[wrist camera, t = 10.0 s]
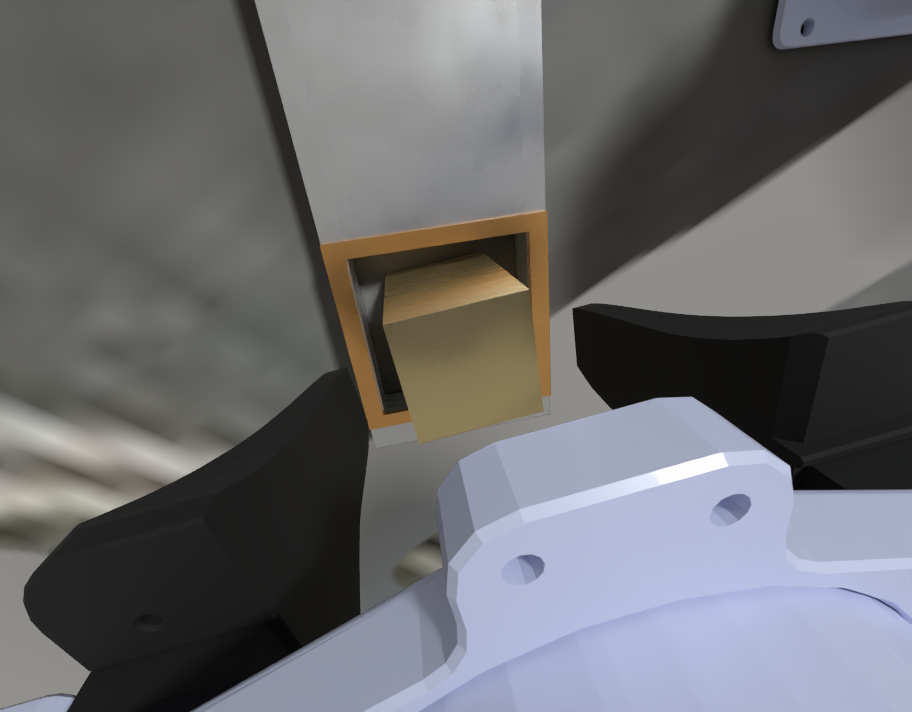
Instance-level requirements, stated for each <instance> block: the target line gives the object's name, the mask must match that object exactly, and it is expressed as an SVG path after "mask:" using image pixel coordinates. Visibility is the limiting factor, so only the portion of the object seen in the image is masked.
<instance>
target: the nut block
mask: <svg viewBox="0 0 912 712" xmlns="http://www.w3.org/2000/svg"><path fill="white" fill-rule="evenodd" d="M383 328H384V332H385V335H386V338H387V341H388V345H389V348H390V351H391V354H392V358H393V361H394V364H395V367H396V371H397V374H398V377H399V380H400V384H401V387H402V390H403V393H404V397H405V400H406V403H407V406H408V410H409V413H410V416H411V419H412V423H413V426H414V429H415V432H416V436H417V439H418V442H419V444H421V443H425V442H429V441H433V440H437V439H440V438H444V437H448V436H452V435H456V434H460V433H463V432H467V431H471V430H475V429H479V428H482V427H486V426H490V425H494V424H498V423H502V422H505V421H509V420H513V419H517V418H521V417H525V416H528V415H532V414H536V413H540V412H544V409H543V401H542V393H541V384H540V376H539V367H538V359H537V350H536V342H535V334H534V325H533V317H532V308H531V300H530V291H529V289H528V288H527V287H526V286H524V285H523V284H522V283H521V282H519V281H518V280H517V279H516V278H514V277H513V276H512V275H511V274H509V273H508V272H507V271H506V270H504V269H503V268H502V267H501V266H499V265H498V264H497V263H495V262H494V261H493V260H492V259H490V258H489V257H488V256H487V255H485V254H484V253H483V252H478V253H473V254H469V255H465V256H461V257H457V258H452V259H448V260H444V261H440V262H435V263H431V264H427V265H423V266H419V267H414V268H410V269H406V270H402V271H397V272H393V273H389V274H386V275H385V292H384V309H383Z"/></svg>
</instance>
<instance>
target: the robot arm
mask: <svg viewBox="0 0 912 712" xmlns="http://www.w3.org/2000/svg"><path fill="white" fill-rule="evenodd" d="M802 24H803V26H804V31H803V33H802V35H801V26H802ZM909 34H912V0H779V2H778V8H777V13H776V19H775V24H774V29H773V38H772V41H773V44H774V46H775V47H776V48H777V49H781V50H784V49H792V48H800V47H809V46H817V45H825V44H834V43H842V42H851V41H859V40H867V39H876V38H884V37H893V36H901V35H909ZM573 321H574V333H575V345H576V356H577V366H578V367H579V369H580V371H581V372H582V374H583V375H584V377H585V378H586V380H587V381H588V383H589V384H590V385H591V387H592V388H593V389H594V390H595V391H596V393H597V394H598V395H599V396H600V397H601V398H602V399H603V400H604V401H605V402H606V403H607V405H608V406H609V407H610V408H612V410H611V411H607V412H604V413H600V414H596V415H593V416H589V417H585V418H582V419H578V420H574V421H571V422H567V423H563V424H560V425H556V426H552V427H549V428H545V429H541V430H538V431H534V432H530V433H527V434H523V435H519V436H516V437H513V438H508V439H505V440H501V441H498V442H494V443H492V444H490V445H488V446H486V447H484V448H482V449H480V450H478V451H476V452H475V453H473V454H471V455H469V456H467V457H465V458H463V459H461V460H459V461H458V462H457V463H456V465H455V466H454V467H453V469H452V470H451V471H450V473H449V474H448V475H447V477H446V478H445V480H444V481H443V482H442V483H441V485H440V486H439V487H438V491H437V525H438V533H439V541H440V548H441V556H442V564H443V567H442V568H440V569H439V570H437V571H435V572H433V573H432V574H430V575H428V576H426V577H425V578H423V579H421V580H419V581H418V582H416V583H414V584H412V585H411V586H409V587H407V588H405V589H404V590H402V591H400V592H398V593H397V594H395V595H393V596H391V597H390V598H388V599H386V600H384V601H383V602H381V603H379V604H378V605H376V606H374V607H372V608H370V609H369V610H367V611H365V612H363V613H362V614H360V573H359V538H360V514H361V504H362V496H363V489H364V481H365V474H366V465H367V457H368V447H369V446H368V421H367V418H366V416H365V413H364V411H363V408H362V406H361V403H360V401H359V398H358V395H357V393H356V390H355V388H354V385H353V383H352V380H351V378H350V375H349V372H348V370H347V368H343V369H339V370H335V371H331V372H328V373H326V374H324V375H323V376H321V377H320V378H319V379H318V380H316V381H315V382H314V383H313V384H312V385H311V386H310V387H309V388H307V389H306V390H305V391H304V392H303V393H302V394H301V395H300V396H299V397H298V398H296V399H295V400H294V401H293V402H292V403H291V404H290V405H289V406H288V407H286V408H285V409H284V410H283V411H282V412H280V413H279V414H278V415H277V416H276V417H274V418H273V419H272V420H271V421H270V422H268V423H267V424H266V425H265V426H263V427H262V428H261V429H260V430H258V431H257V432H255V433H254V434H253V435H251V436H250V437H248V438H247V439H246V440H244V441H243V442H241V443H240V444H238V445H237V446H235V447H234V448H232V449H231V450H229V451H227V452H226V453H224V454H222V455H221V456H219V457H217V458H216V459H214V460H212V461H211V462H209V463H207V464H206V465H204V466H202V467H201V468H199V469H197V470H195V471H194V472H192V473H190V474H188V475H186V476H184V477H182V478H180V479H178V480H177V481H175V482H173V483H171V484H169V485H166V486H164V487H162V488H160V489H158V490H156V491H154V492H152V493H150V494H148V495H146V496H144V497H141V498H139V499H137V500H135V501H132V502H130V503H128V504H125V505H123V506H121V507H118V508H116V509H114V510H111V511H109V512H107V513H104V514H102V515H100V516H97V517H95V518H92V519H90V520H87V521H85V522H82V523H80V524H79V525H77V526H76V527H75V528H74V529H73V530H72V531H71V532H70V533H69V534H68V535H67V536H66V537H65V538H64V540H63V541H62V542H61V543H60V544H59V545H58V546H57V547H56V548H55V549H54V550H53V552H52V553H51V554H50V555H49V556H48V557H47V558H46V559H45V560H44V562H43V563H42V564H41V565H40V566H39V567H38V568H37V569H36V570H35V571H34V573H33V574H32V576H31V577H30V579H29V580H28V582H27V584H26V585H25V587H24V598H23V602H24V605H25V608H26V610H27V613H28V615H29V618H30V620H31V621H32V622H33V624H34V625H35V626H36V627H37V628H38V629H39V630H40V631H41V632H42V633H43V634H44V635H45V636H47V637H48V638H49V639H51V640H52V641H53V642H54V643H55V644H57V645H58V646H59V647H60V648H62V649H63V650H64V651H65V652H66V653H68V654H69V655H70V656H72V657H73V658H74V659H75V660H76V661H78V662H79V663H80V664H81V665H83V666H84V667H85V668H86V669H87V670H89V671H91V673H90V674H89V676H88V678H87V679H86V681H85V682H84V684H83V686H82V687H81V689H80V691H79V692H78V694H77V696H75V695H71V694H63V693H60V694H52V695H47V696H44V697H40V698H37V699H33V700H30V701H26V702H23V703H19V704H16V705H12V706H9V707H5V708H2V709H0V712H912V301H901V302H894V303H887V304H880V305H873V306H866V307H859V308H852V309H845V310H838V311H828V312H818V313H807V314H797V315H780V316H753V317H721V316H697V315H685V314H675V313H665V312H657V311H650V310H643V309H637V308H630V307H623V306H617V305H608V304H589V305H584V306H580V307H577V308H573Z"/></svg>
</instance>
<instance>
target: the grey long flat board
mask: <svg viewBox="0 0 912 712" xmlns="http://www.w3.org/2000/svg"><path fill="white" fill-rule="evenodd" d="M255 4H256V7H257V11H258V15H259V18H260V22H261V26H262V29H263V33H264V37H265V41H266V44H267V48H268V52H269V55H270V59H271V63H272V67H273V70H274V74H275V78H276V81H277V85H278V89H279V92H280V96H281V100H282V104H283V107H284V111H285V115H286V118H287V122H288V126H289V129H290V133H291V137H292V141H293V144H294V148H295V152H296V155H297V159H298V163H299V166H300V170H301V174H302V178H303V181H304V185H305V189H306V192H307V196H308V200H309V203H310V207H311V211H312V215H313V218H314V222H315V226H316V229H317V233H318V237H319V240H320V249H321V252H322V256H323V260H324V263H325V267H326V271H327V275H328V278H329V282H330V286H331V289H332V293H333V297H334V300H335V304H336V308H337V311H338V315H339V319H340V322H341V326H342V330H343V333H344V337H345V341H346V344H347V348H348V352H349V356H350V359H351V363H352V367H353V370H354V374H355V378H356V381H357V385H358V389H359V392H360V396H361V400H362V403H363V407H364V411H365V414H366V418H367V421H368V426H369V429H370V430H371V433H372V437H373V440H374V444H375V447H376V448H381V447H386V446H390V445H396V444H401V443H406V442H411V441H416V440H418V439H417V436H416V432H415V429H414V426H413V423H412V419H411V416H410V413H409V410H408V406H407V403H406V400H405V397H404V393H403V391H402V392H396V393H391V394H386V395H385V392H384V388H383V384H382V380H381V375H380V371H379V367H378V363H377V359H376V354H375V350H374V346H373V342H372V338H371V333H370V329H369V325H368V321H367V317H366V312H365V308H364V304H363V300H362V296H361V291H360V287H359V283H358V279H357V275H356V270H355V266H354V262H353V258H360V257H366V256H373V255H379V254H386V253H392V252H399V251H405V250H412V249H418V248H425V247H431V246H438V245H444V244H451V243H457V242H464V241H470V240H477V239H483V238H490V237H496V236H503V235H509V234H515V251H516V269H517V280H518V281H519V282H521V283H522V284H523V285H524V286H526V287H527V288H528V289H529V291H530V300H531V308H532V317H533V325H534V334H535V342H536V350H537V359H538V367H539V376H540V384H541V393H542V401H543V409H544V412H540V413H536V414H532V415H528V416H525V417H521V418H517V419H513V420H509V421H505V422H502V423H498V424H503V423H508V422H513V421H519V420H524V419H529V418H533V417H539V416H544V415H549V414H550V410H549V396H550V395H551V377H550V329H549V327H550V325H549V270H548V218H547V211H545V170H544V123H543V76H542V28H541V0H255ZM498 424H494V425H498ZM490 426H493V425H490ZM486 427H488V426H486Z"/></svg>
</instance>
